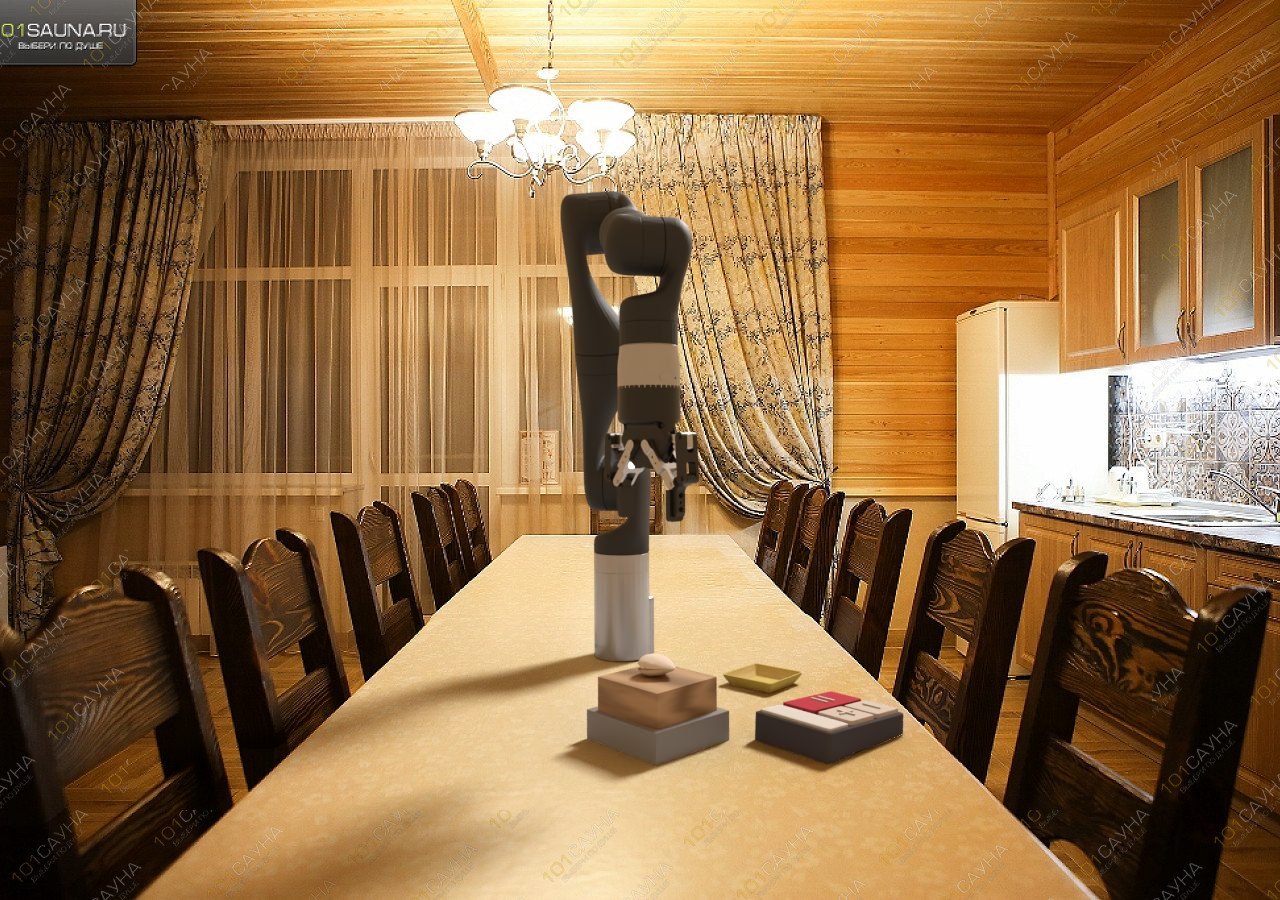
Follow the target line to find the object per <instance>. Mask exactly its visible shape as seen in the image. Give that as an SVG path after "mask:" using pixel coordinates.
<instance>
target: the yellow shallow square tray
mask: <svg viewBox="0 0 1280 900" xmlns="http://www.w3.org/2000/svg"><path fill="white" fill-rule="evenodd" d="M722 673H723V672H722ZM802 674H803V672H802V671H799V670H793V669H789V668H783V667H778V666H775V665H768V664H762V663H750V664H748V665H744V666H742V667H739V668H736V669H733V670H730V671H726V672H724V673H723V674H722V676H723V678H724V679H725V680H726V681H727V682H728V683H729V684H730V685H731V686H734V687H739V688H744V689H748V690H753V691H757V692H762V693H765V694H766V693H767V694H771V693H774V692H776V691H778V690H781V689H784V688H787V687H788V686H792V685H794V684H795V683H796V682H797V681H798V680H799V679H800V677H801V676H802Z"/></svg>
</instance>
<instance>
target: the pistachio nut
mask: <svg viewBox="0 0 1280 900" xmlns="http://www.w3.org/2000/svg"><path fill="white" fill-rule="evenodd" d="M637 665H638V667H639V666H641V667H639V668H638V671H639V672H640V673H642V674H644V675H646V676H658V675H664V674H667V673H669V672H671V671H674V670H675V669H676V668H675V667H676V666H675V664H674V663H673V661H672V660H671V659H670V658H669V657H668V656H665V655H663V654H661V653H655V652H654V653H653V654H647V655H644V656H642V657H641V658H640V659H639V660H637Z"/></svg>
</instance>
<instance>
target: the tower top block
mask: <svg viewBox="0 0 1280 900" xmlns="http://www.w3.org/2000/svg"><path fill="white" fill-rule="evenodd" d="M639 667H641V666H639V665H638V666H635V667H632V668H628V669H623V670H619V671H616V672H611V673H607V674H604V675H600V676H599V675H598V676H597V706H598V710H599V711H602V712H605V713H608V714H611V715H614V716H617V717H620V718H623V719H626V720H629V721H632V722H636V723H639V724H642V725H645V726H648V727H651V728H654V729H657V730H658V729H661V728H664V727H667V726H670V725H674V724H677V723H680V722H683V721H686V720H689V719H692V718H695V717H698V716H701V715H704V714H707V713H710V712H713V711H716V710H717V707H718V705H717V704H718V701H717V699H718V698H717V696H718V695H717V694H718V693H717V692H718V688H717V687H718V686H717V685H718V684H717V683H718V680H717V678H718V677H717V676H715V675H710V674H707V673H702V672H699V671H696V670H695V671H694V670H691V669H686V668H682V667H679V666H675V668H676V669H675V670H674V671H671V672H669V673H667V674H664V675H658V676H646V675H644V674H642V673H640V672H639V671H638V668H639Z"/></svg>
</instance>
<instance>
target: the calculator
mask: <svg viewBox="0 0 1280 900" xmlns="http://www.w3.org/2000/svg"><path fill="white" fill-rule="evenodd" d="M754 723H755V724H754V730H755V731H754V741H756V742H759V743H762V744H764V745H768V746H771V747H774V748H778V749H780V750H784V751H785V752H789V753H792V754H795V755H799V756H801V757H804V758H806V759H810V760H814V761H816V762H819V763H822V764H825V765H832V764H835V763H838V762H840V761H842V760H845V759H847V758H850V757H851V756H853V755H854V754H855V753H859V752H861V751H864V750H868V749H871V748H873V746H874V747H876V745H877V746H879V745H882V744H884V743H886V742H885V741H887V740H889V739H892V738H894V737H897V736H899V735H901V734H903V735H904V713H903V712H902V711H899V708H898V707H895V706H891V705H889V704H888V705H887V704H884V703H879V702H876V701H871V700H868V699H865V700H862V699H861V698H860V697H855V696H852V695H848V694H844V693H840V692H837V691H825V692H822V693H818V694H817V693H816V694H813V695H809V696H804V697H800V698H799V697H798V698H795V699H792V700H791V699H789V700H786V701H783V703H782V704H776V705H772V706H767V707H762V708H760V710H757V711H755V722H754ZM901 736H902V735H901ZM899 737H900V736H899ZM897 738H898V737H897ZM894 739H895V738H894ZM892 740H893V739H892ZM889 741H890V740H889ZM883 742H884V743H883ZM887 742H888V741H887ZM881 743H882V744H881ZM878 744H879V745H878Z"/></svg>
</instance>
